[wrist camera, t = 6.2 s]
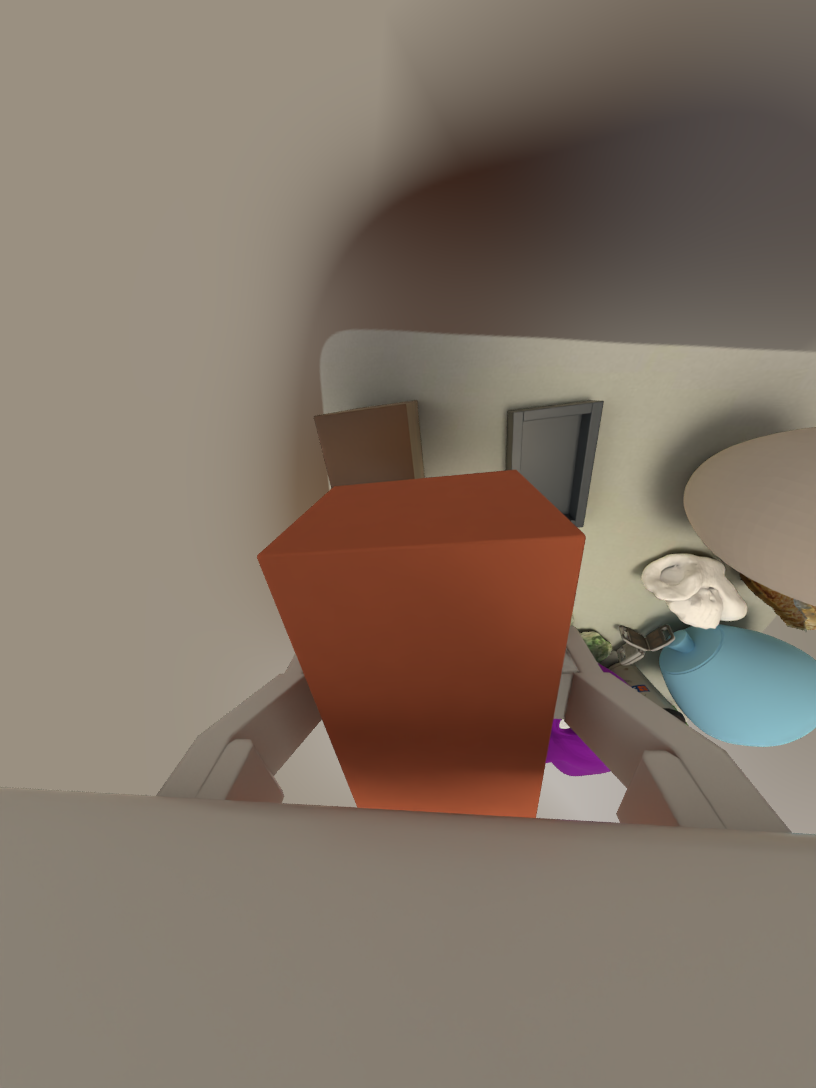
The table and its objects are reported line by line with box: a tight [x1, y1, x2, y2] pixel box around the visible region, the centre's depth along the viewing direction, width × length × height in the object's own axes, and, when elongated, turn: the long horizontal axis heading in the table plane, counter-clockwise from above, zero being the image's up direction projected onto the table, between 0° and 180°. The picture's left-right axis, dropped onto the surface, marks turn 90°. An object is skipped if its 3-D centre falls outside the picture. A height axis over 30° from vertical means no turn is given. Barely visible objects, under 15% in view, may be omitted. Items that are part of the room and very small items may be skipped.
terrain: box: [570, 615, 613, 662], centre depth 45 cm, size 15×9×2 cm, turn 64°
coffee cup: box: [608, 663, 686, 724], centre depth 43 cm, size 7×7×10 cm
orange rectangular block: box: [257, 470, 586, 818], centre depth 8 cm, size 10×5×4 cm, turn 7°
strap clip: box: [617, 625, 675, 665], centre depth 42 cm, size 8×3×4 cm
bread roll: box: [739, 572, 816, 631], centre depth 32 cm, size 11×11×5 cm
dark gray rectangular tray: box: [506, 400, 604, 527], centre depth 33 cm, size 14×8×3 cm, turn 7°
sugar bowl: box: [659, 624, 816, 747], centre depth 38 cm, size 15×15×12 cm
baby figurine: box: [641, 553, 747, 629], centre depth 37 cm, size 9×12×8 cm
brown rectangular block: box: [314, 400, 425, 489], centre depth 29 cm, size 11×7×13 cm, turn 7°
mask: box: [546, 663, 628, 776], centre depth 41 cm, size 17×15×25 cm
